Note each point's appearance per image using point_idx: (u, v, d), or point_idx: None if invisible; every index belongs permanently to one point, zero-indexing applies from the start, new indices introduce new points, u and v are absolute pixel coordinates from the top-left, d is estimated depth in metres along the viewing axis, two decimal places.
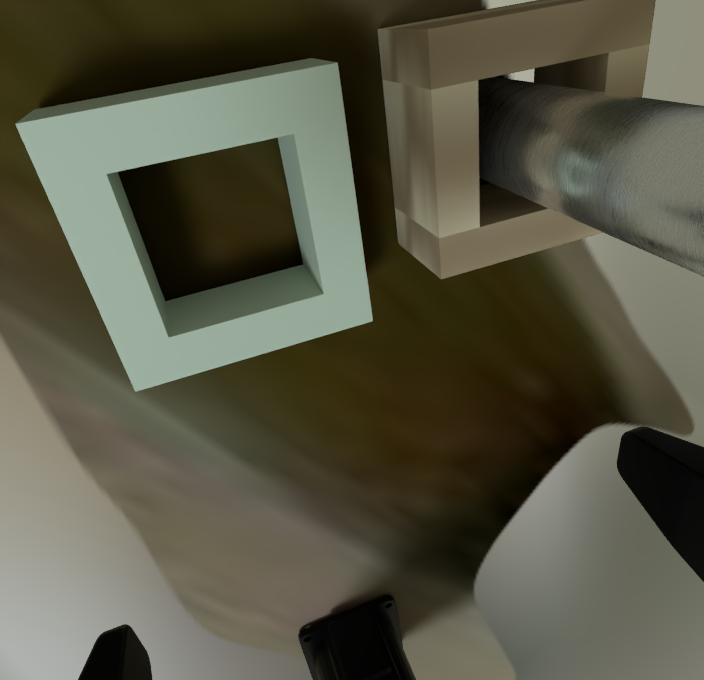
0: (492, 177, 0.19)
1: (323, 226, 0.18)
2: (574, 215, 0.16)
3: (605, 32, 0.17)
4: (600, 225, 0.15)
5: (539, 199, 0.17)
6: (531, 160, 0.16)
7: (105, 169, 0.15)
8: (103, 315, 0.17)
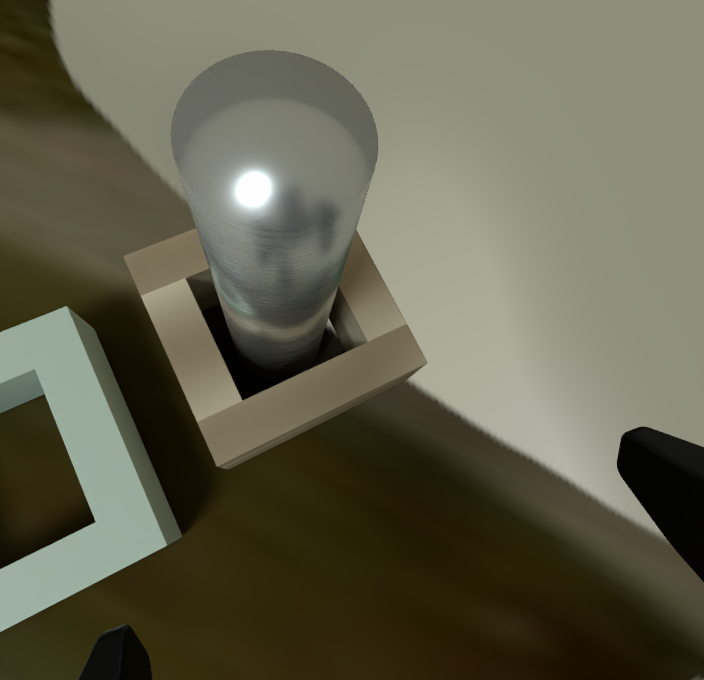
0: (249, 355, 0.19)
1: (80, 446, 0.18)
2: (248, 325, 0.15)
3: None
4: (243, 311, 0.14)
5: (249, 338, 0.17)
6: (221, 306, 0.17)
7: None
8: None
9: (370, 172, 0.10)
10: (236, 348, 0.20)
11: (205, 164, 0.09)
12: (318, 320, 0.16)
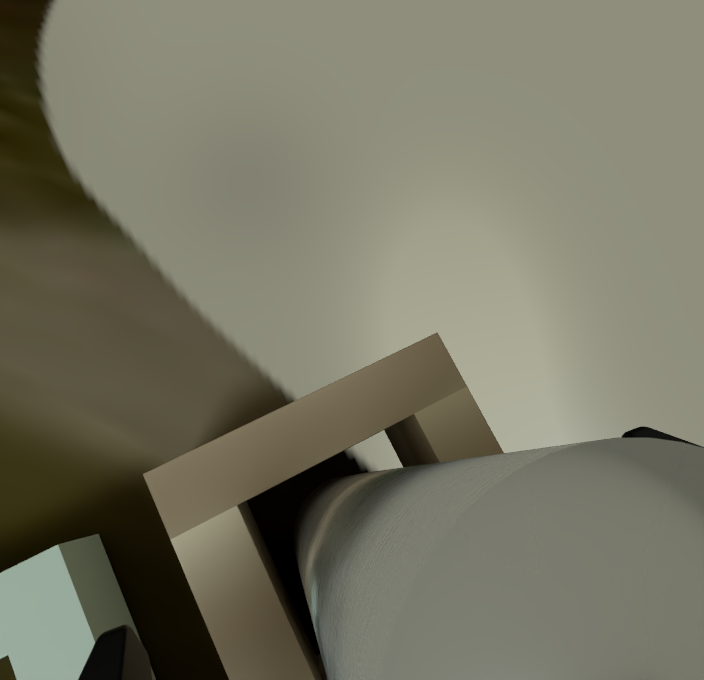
0: None
1: None
2: None
3: (395, 396, 0.14)
4: None
5: None
6: None
7: None
8: None
9: None
10: None
11: None
12: None
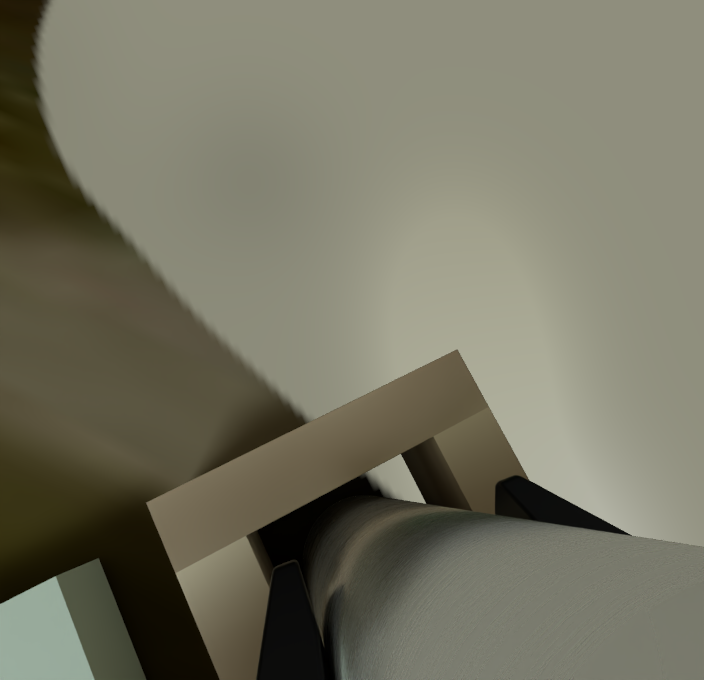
0: None
1: None
2: None
3: (413, 417, 0.13)
4: None
5: None
6: None
7: None
8: None
9: None
10: None
11: None
12: None
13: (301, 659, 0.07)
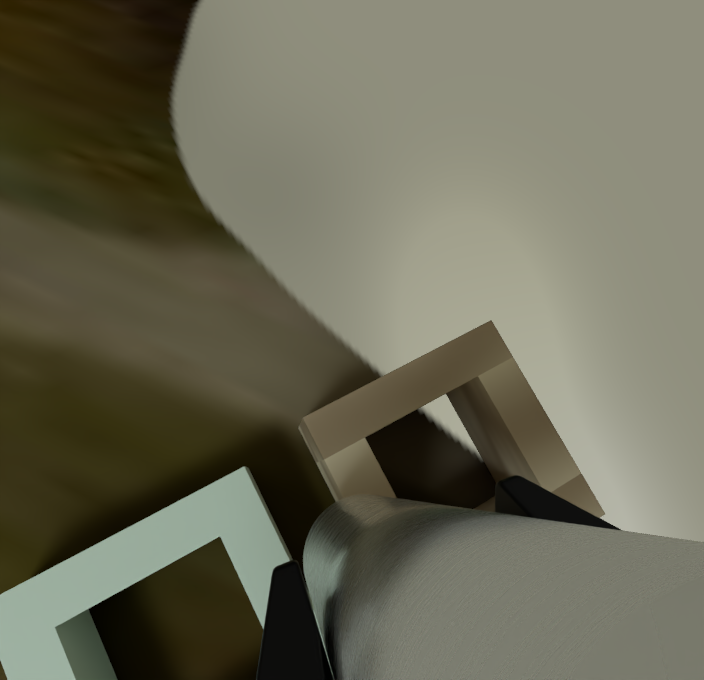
0: None
1: None
2: None
3: (464, 364, 0.20)
4: None
5: None
6: None
7: (53, 623, 0.17)
8: None
9: None
10: None
11: None
12: None
13: (301, 659, 0.07)
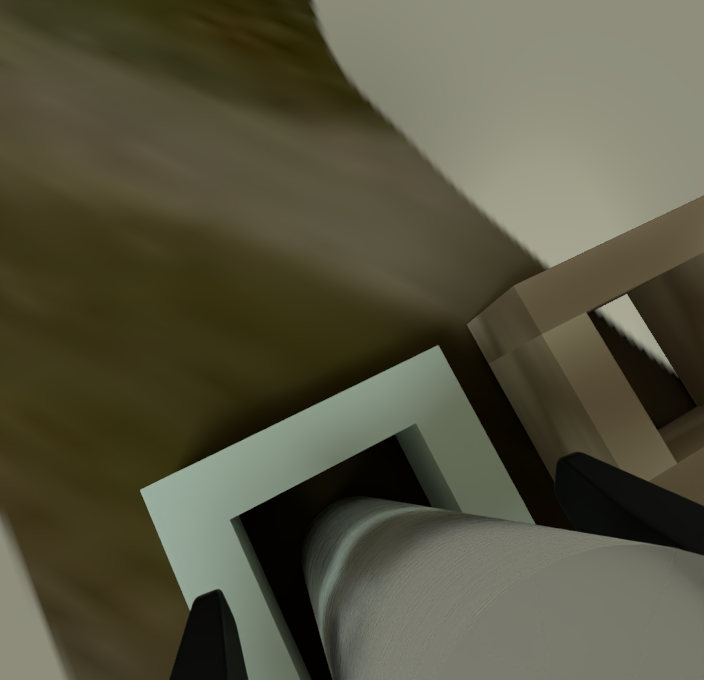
0: None
1: None
2: None
3: (690, 236, 0.17)
4: None
5: None
6: None
7: (228, 514, 0.14)
8: None
9: None
10: None
11: None
12: None
13: None
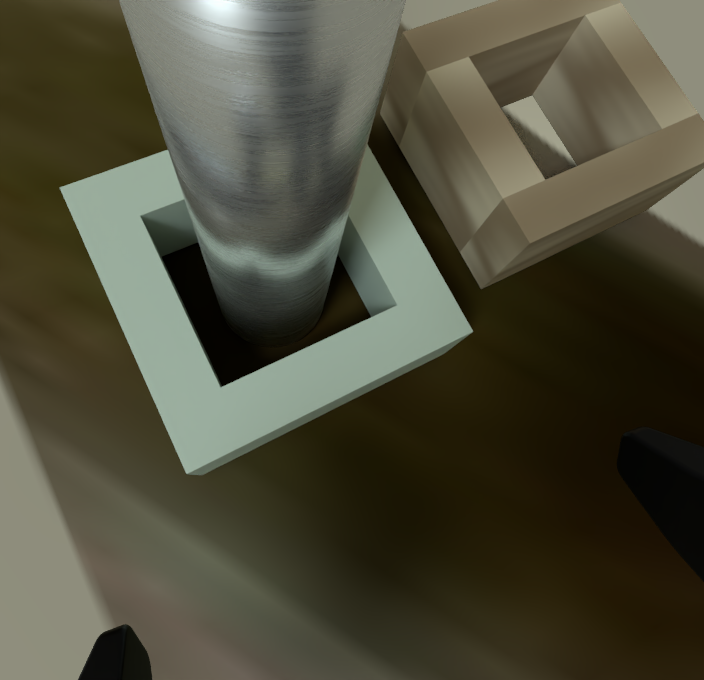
0: (235, 308, 0.15)
1: (370, 229, 0.17)
2: (229, 248, 0.11)
3: (570, 3, 0.19)
4: (221, 220, 0.10)
5: (232, 275, 0.12)
6: None
7: (139, 211, 0.16)
8: (142, 367, 0.15)
9: None
10: (220, 301, 0.16)
11: None
12: (325, 246, 0.12)
13: None
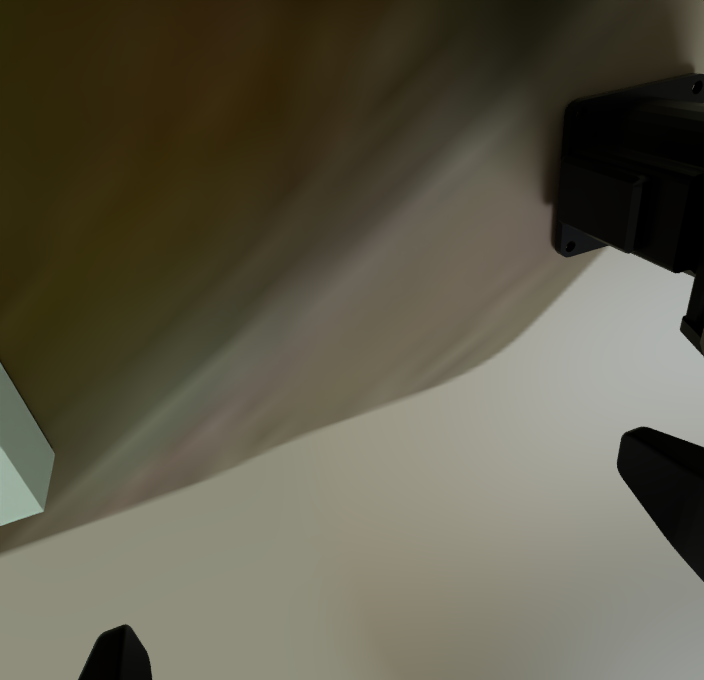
0: None
1: None
2: None
3: None
4: None
5: None
6: None
7: None
8: None
9: None
10: None
11: None
12: None
13: None
